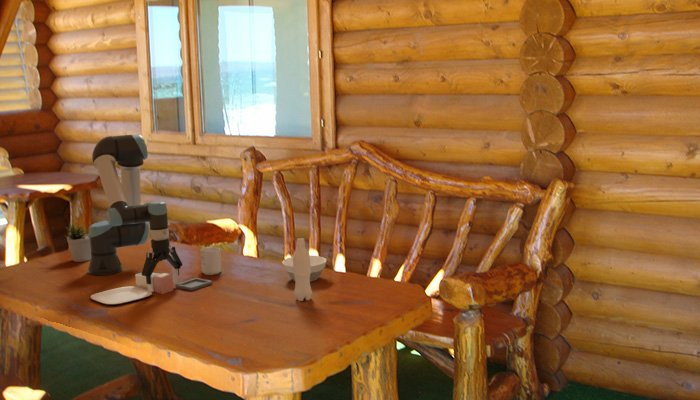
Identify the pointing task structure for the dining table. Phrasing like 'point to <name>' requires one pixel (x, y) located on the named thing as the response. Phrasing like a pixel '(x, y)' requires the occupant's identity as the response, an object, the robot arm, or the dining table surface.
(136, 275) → the grey-panelled beige block
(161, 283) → the stub
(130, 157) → the robot arm
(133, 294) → the plate
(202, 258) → the mug
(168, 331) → the dining table surface
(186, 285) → the stub tray
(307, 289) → the water bottle
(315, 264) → the bowl
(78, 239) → the potted plant
